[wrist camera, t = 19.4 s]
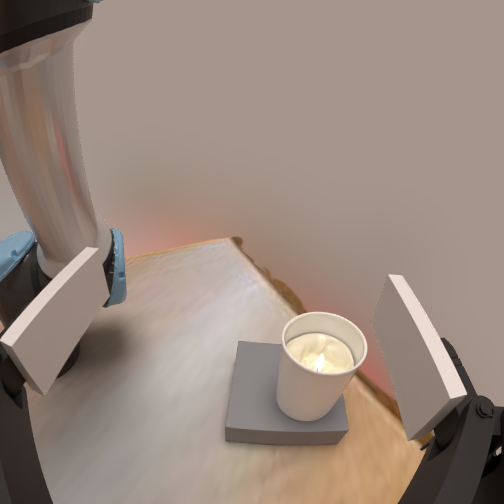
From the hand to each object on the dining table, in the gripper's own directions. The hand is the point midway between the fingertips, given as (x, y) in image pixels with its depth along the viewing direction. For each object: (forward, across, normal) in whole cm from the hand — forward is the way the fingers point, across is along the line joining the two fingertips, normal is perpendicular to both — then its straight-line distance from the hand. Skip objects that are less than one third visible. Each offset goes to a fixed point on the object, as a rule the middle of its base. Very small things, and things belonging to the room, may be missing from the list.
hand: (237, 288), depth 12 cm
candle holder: (+12, +9, -27) cm, 30 cm away
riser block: (+14, +7, -32) cm, 35 cm away
